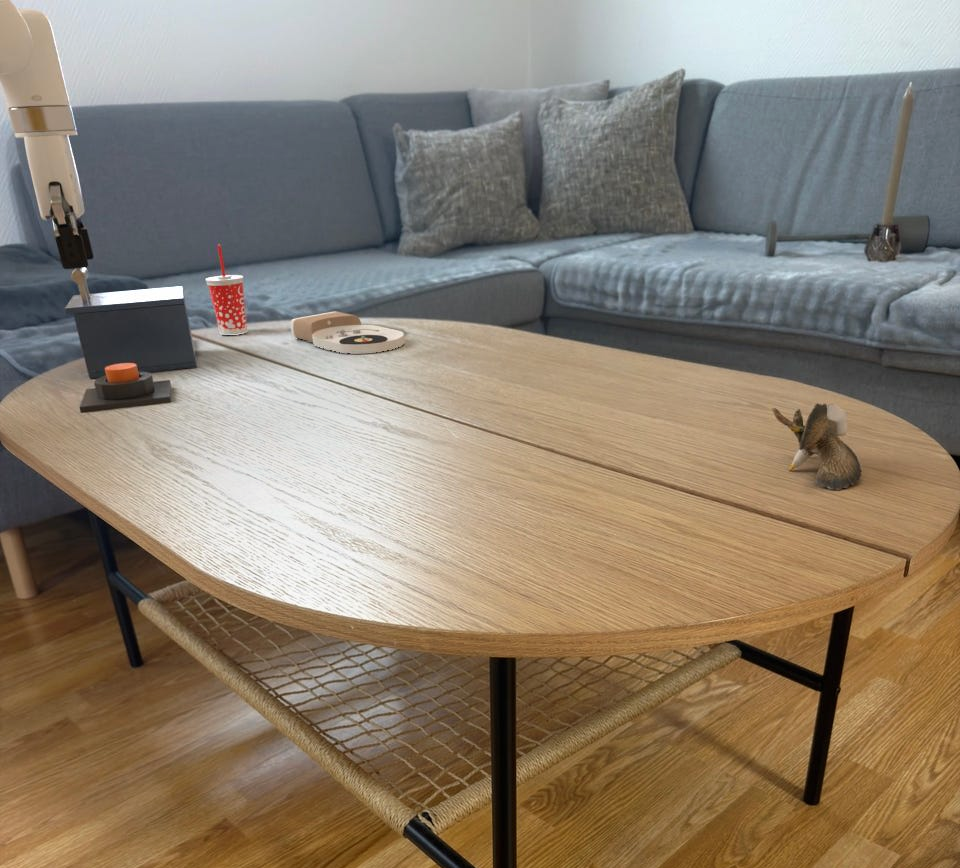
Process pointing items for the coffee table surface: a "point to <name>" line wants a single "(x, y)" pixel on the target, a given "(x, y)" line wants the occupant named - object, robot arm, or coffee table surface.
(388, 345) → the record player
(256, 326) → the coffee table surface
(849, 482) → the eagle figurine
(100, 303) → the lid
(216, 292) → the beverage cup
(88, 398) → the control block
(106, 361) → the dark grey box
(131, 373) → the button
